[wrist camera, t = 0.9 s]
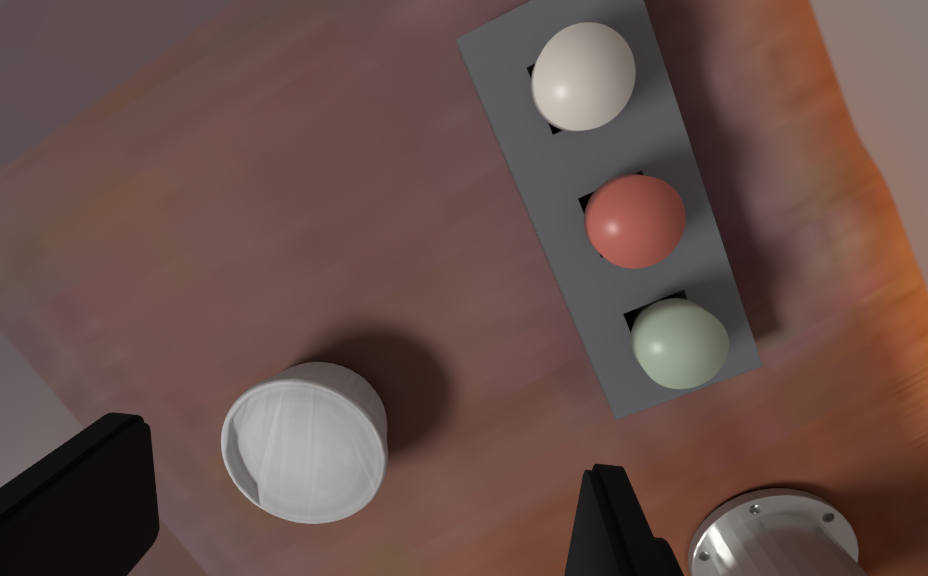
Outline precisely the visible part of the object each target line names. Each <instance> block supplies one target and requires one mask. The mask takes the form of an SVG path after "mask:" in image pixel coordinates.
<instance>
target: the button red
mask: <svg viewBox="0 0 928 576" xmlns="http://www.w3.org/2000/svg"><path fill="white" fill-rule="evenodd" d="M685 221H686V215H685V208H684V205H683V202H682V200H681V198H680V196H679V194H678V193H677V192H676V191H675V189H674V188H673V187H672V186H670V185H669V184H668V183H666V182H665V181H663V180H660V179H658V178H655V177H650V176H644V175H638V174H624V175H620V176H617V177H614V178H612V179H610V180H608V181H606V182H605V183H603V184H602V185H601V186H600V187H599V188H597V190H596V191H595V192H594V193H593V195H592V196H591V197H590V199H589V201H588V203H587V206H586V209H585V213H584V228H585V233H586V236H587V238H588V240H589V242H590V243H591V245H592V246H593V247H594V248H595V249H596V250H597V251H598V252H599V253H600V254H601V255H602V256H603V257H604V258H606V259H607V260H608V261H610V262H611V263H613V264H615V265H617V266H620V267H624V268H630V269H637V268H644V267H648V266H651V265H654V264H656V263H658V262H660V261H661V260H663V259H664V258H666V257H667V256H668V255H669V254H670V253H671V252H672V251H673V250H674V249H675V247H676V246H677V245H678V243H679V241H680V239H681V237H682V235H683V232H684V228H685Z"/></svg>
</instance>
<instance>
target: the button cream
mask: <svg viewBox="0 0 928 576" xmlns="http://www.w3.org/2000/svg"><path fill="white" fill-rule="evenodd" d="M635 76H636V75H635V61H634V58H633V54H632V52H631V49H630V47H629V46H628V44H627V42H626V41H625V40H624V38H623V37H622V36H621V35H620V34H619V33H618V32H616V31H615V30H613V29H612V28H610V27H608V26H606V25H603V24H600V23H594V22H584V23H578V24H574V25H571V26H569V27H566V28H565V29H563V30H561V31H560V32H558V33H557V34H556V35H555V36H554V37H553V38H552V39H551V40H549V42H548V43H547V44H546V46H545V47H544V49H543V50H542V52H541V54H540V55H539V57H538V59H537V61H536V63H535V65H534V68H533V71H532V76H531V93H532V98H533V101H534V104H535V106H536V108H537V110H538V112H539V113H540V115H541V116H542V117H543V118H544V119H545V120H546V121H547V122H548V123H550V124H551V125H553V126H554V127H556V128H559V129H562V130H565V131H574V132H577V131H584V130H590V129H594V128H597V127H600V126H602V125H604V124H606V123H608V122H609V121H611V120H612V119H614V118H615V117H616V116H617V115H618V114H619V113H620V112H621V111H622V109H623V108H624V107H625V105H626V104H627V102H628V100H629V98H630V96H631V94H632V91H633V87H634V83H635Z"/></svg>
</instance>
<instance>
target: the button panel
mask: <svg viewBox="0 0 928 576" xmlns="http://www.w3.org/2000/svg"><path fill="white" fill-rule="evenodd" d="M584 22H594V23H600V24H603V25H606V26H608V27H610V28H612V29H613V30H615V31H616V32H618V33H619V34H620V35H621V36H622V37H623V38H624V40H625V41H626V42H627V44H628V46H629V47H630V49H631V52H632V54H633V58H634V61H635V75H636V76H635V83H634V87H633V91H632V94H631V96H630V98H629V100H628V102H627V104H626V105H625V107H624V108H623V109H622V111H621V112H620V113H619V114H618V115H617V116H616V117H615V118H614V119H612V120H611V121H609V122H608V123H606V124H604V125H602V126H600V127H597V128H594V129H590V130H584V131H577V132H574V131H565V130H562V129H561V130H559V131H557V132H555V133H553V134H552V131H551V129H550V126H549V124H548V122H547V121H546V120H545V119H544V118H543V117H542V116H541V115H540V113H539V112H538V110H537V108H536V106H535V104H534V101H533V98H532V93H531V78H530V75H529V73H528V72H530V71H532V70H533V68H534V65H535V63H536V61H537V59H538V57H539V55H540V54H541V52H542V50H543V49H544V47H545V46H546V44H547V43H548V42H549V40H551V39H552V38H553V37H554V36H555V35H556V34H557V33H558V32H560V31H561V30H563V29H565V28H566V27H569V26H571V25H574V24H578V23H584ZM456 42H457V46H458V50H459V52H460V54H461V57H462V59H463V61H464V64H465V66H466V69H467V71H468V73H469V76H470V78H471V80H472V83H473V85H474V88H475V90H476V92H477V95H478V97H479V99H480V102H481V104H482V106H483V109H484V111H485V114H486V116H487V118H488V121H489V123H490V125H491V128H492V130H493V133H494V135H495V137H496V140H497V142H498V144H499V147H500V149H501V152H502V154H503V156H504V159H505V161H506V163H507V166H508V168H509V171H510V173H511V175H512V178H513V180H514V182H515V185H516V187H517V189H518V192H519V194H520V197H521V199H522V201H523V204H524V206H525V208H526V211H527V213H528V216H529V218H530V220H531V223H532V225H533V227H534V230H535V232H536V235H537V237H538V239H539V242H540V244H541V246H542V249H543V251H544V254H545V256H546V258H547V261H548V263H549V265H550V268H551V270H552V272H553V275H554V277H555V280H556V282H557V284H558V287H559V289H560V291H561V294H562V296H563V299H564V301H565V303H566V306H567V308H568V310H569V313H570V315H571V318H572V320H573V322H574V325H575V327H576V329H577V332H578V334H579V337H580V339H581V341H582V344H583V346H584V348H585V351H586V353H587V355H588V358H589V360H590V363H591V365H592V367H593V370H594V372H595V374H596V377H597V379H598V382H599V384H600V386H601V389H602V391H603V393H604V396H605V398H606V400H607V402H608V404H609V406H610V408H611V411H612V413H613V415H614V417H615V419H616V420H617V419H620V418H622V417H625V416H628V415H630V414H633V413H636V412H639V411H641V410H644V409H647V408H650V407H652V406H655V405H658V404H660V403H663V402H666V401H669V400H671V399H674V398H677V397H679V396H682V395H685V394H688V393H690V392H693V391H696V390H699V389H701V388H704V387H707V386H709V385H712V384H715V383H718V382H720V381H723V380H726V379H729V378H731V377H734V376H737V375H739V374H742V373H745V372H748V371H750V370H753V369H756V368H759V367H761V366H763V365H762V362H761V359H760V356H759V353H758V350H757V347H756V344H755V341H754V338H753V335H752V332H751V329H750V325H749V322H748V319H747V316H746V313H745V310H744V307H743V304H742V301H741V298H740V295H739V292H738V289H737V285H736V282H735V279H734V276H733V273H732V270H731V267H730V264H729V261H728V258H727V255H726V252H725V249H724V246H723V242H722V239H721V236H720V233H719V230H718V227H717V224H716V221H715V218H714V215H713V212H712V209H711V206H710V202H709V199H708V196H707V193H706V190H705V187H704V184H703V181H702V178H701V175H700V172H699V169H698V166H697V162H696V159H695V156H694V153H693V150H692V147H691V144H690V141H689V138H688V135H687V132H686V129H685V126H684V123H683V119H682V116H681V113H680V110H679V107H678V104H677V101H676V98H675V95H674V92H673V89H672V86H671V83H670V79H669V76H668V73H667V70H666V67H665V64H664V61H663V58H662V55H661V52H660V49H659V46H658V43H657V39H656V36H655V33H654V30H653V27H652V24H651V21H650V18H649V15H648V12H647V9H646V6H645V3H644V0H531V1H529V2H527V3H525V4H523V5H521V6H519V7H517V8H515V9H513V10H511V11H510V12H508V13H506V14H504V15H502V16H500V17H498V18H496V19H494V20H492V21H490V22H488V23H486V24H484V25H482V26H480V27H478V28H476V29H475V30H473V31H471V32H469V33H467V34H465V35H463V36H461V37H459V38H457V39H456ZM624 174H638V175H644V176H650V177H655V178H658V179H660V180H663V181H665V182H666V183H668V184H669V185H670V186H672V187H673V188H674V189H675V191H676V192H677V193H678V194H679V196H680V198H681V200H682V202H683V205H684V208H685V215H686V221H685V228H684V232H683V235H682V237H681V239H680V241H679V243H678V245H677V246H676V247H675V249H674V250H673V251H672V252H671V253H670V254H669V255H668V256H667V257H666V258H664V259H663V260H661V261H660V262H658V263H656V264H654V265H651V266H648V267H644V268H637V269H630V268H624V267H620V266H617V265H615V264H613V263H611V262H610V261H608V260H607V259H606V258H604V257H603V256H602V255H601V254H600V253H599V252H598V251H597V250H596V249H595V248H594V247H593V246H592V245H591V243H590V242H589V240H588V238H587V236H586V233H585V228H584V213H583V210H582V208H581V205H580V203H579V200H578V198H580V197H582V196H585V195H587V194H589V193H591V192H594V191H596V190H597V188H599V187H600V186H601V185H602V184H603V183H605V182H606V181H608V180H610V179H612V178H614V177H617V176H620V175H624ZM672 294H673V295H674V298H681V299H686V300H690V301H692V302H694V303H696V304H698V305H699V306H701V307H702V308H704V309H705V310H706V311H708V312H709V313H710V314H712V315H713V316H715V317H716V318H717V319H718V320H719V321H720V322H721V323H722V324H723V326H724V328H725V329H726V332H727V334H728V338H729V351H728V355H727V358H726V361H725V363H724V365H723V366H722V368H721V369H720V370H719V372H718V373H717V374H716V375H715V376H714V377H713V378H711V379H710V380H708V381H707V382H705V383H703V384H701V385H699V386H696V387H693V388H688V389H672V388H668V387H664V386H662V385H660V384H658V383H656V382H655V381H654V380H652V379H651V378H650V377H649V376H648V375H647V373H646V372H645V370H644V369H643V368H642V366H641V365H640V363H639V362H638V361H637V359H636V358H635V356H634V354H633V352H632V349H631V344H630V336H631V333H630V330H629V327H628V325H627V322H626V320H625V317H624V315H623V314H624V313H627V312H629V311H632V310H634V309H637V308H639V307H642V306H644V305H647V304H649V303H652V302H654V301H657V300H659V299H662V298H664V297H667V296H669V295H672Z"/></svg>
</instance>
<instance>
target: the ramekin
mask: <svg viewBox="0 0 928 576" xmlns="http://www.w3.org/2000/svg"><path fill="white" fill-rule="evenodd" d="M221 450H222V455H223V460H224V463H225V466H226V468H227V470H228V472H229V474H230V476H231V478H232V480H233V481H234V483H235V484H236V486H237V487H238V488H239V490H240V491H241V492H242V493H243V494H244V495H245V496H246V497H247V498H248V499H249V500H250V501H252V502H253V503H254V504H255V505H257V506H258V507H260V508H261V509H263V510H265V511H267V512H268V513H271V514H273V515H275V516H277V517H279V518H283V519H286V520H289V521H293V522H299V523H310V524H317V523H327V522H333V521H337V520H341V519H344V518H346V517H349V516H351V515H353V514H354V513H356V512H358V511H359V510H361V509H362V508H363V507H365V506H366V505H367V504H368V503H369V502H370V501H372V499H373V498H374V497H375V495H376V493H377V492H378V490H379V489H380V487H381V485H382V482H383V480H384V477H385V474H386V470H387V465H388V447H387V418H386V412H385V409H384V405H383V404H382V402H381V399H380V397H379V396H378V395H377V392H376V391H375V390H374V389H373V388H372V386H371V385H370V384H369V383H368V382H367V381H366V380H365V379H364V378H363V377H361V376H360V375H359V374H357V373H355V372H353V371H352V370H350V369H348V368H345V367H343V366H340V365H336V364H333V363H326V362H308V363H304V364H299V365H297V366H293V367H291V368H289V369H287V370H285V371H283V372H281V373H279V374H277V375H276V376H274V377H271V378H268V379H266V380H263V381H261V382H259V383H257V384H256V385H254V386H252V387H251V388H249V389H248V390H247V391H246V392H245V393H244V394H242V395H241V396H240V397H239V399H238V400H237V401H236V402H235V403H234V404H233V406H232V407H231V409H230V410H229V412H228V414H227V416H226V419H225V421H224V425H223V429H222V434H221Z"/></svg>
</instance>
